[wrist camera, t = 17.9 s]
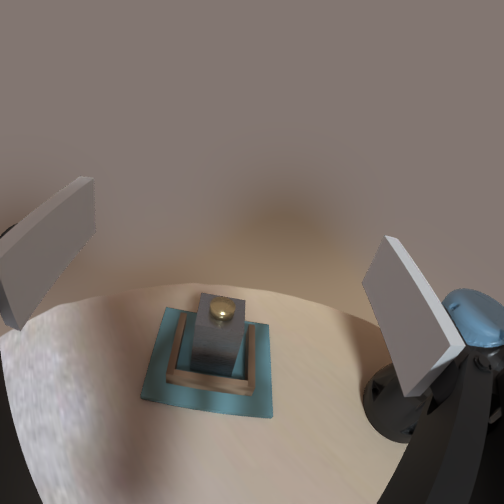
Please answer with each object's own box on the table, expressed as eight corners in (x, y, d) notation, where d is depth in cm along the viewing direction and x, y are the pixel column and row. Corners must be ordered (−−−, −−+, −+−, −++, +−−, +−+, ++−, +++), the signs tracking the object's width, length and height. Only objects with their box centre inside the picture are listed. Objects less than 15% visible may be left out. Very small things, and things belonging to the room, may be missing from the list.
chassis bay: (267, 327, 52) (272, 314, 50) (271, 418, 37) (277, 408, 35) (166, 310, 50) (166, 296, 48) (140, 398, 35) (138, 386, 33)
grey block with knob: (232, 346, 46) (247, 293, 40) (231, 376, 41) (246, 326, 35) (195, 339, 45) (202, 285, 39) (189, 370, 40) (195, 317, 34)
